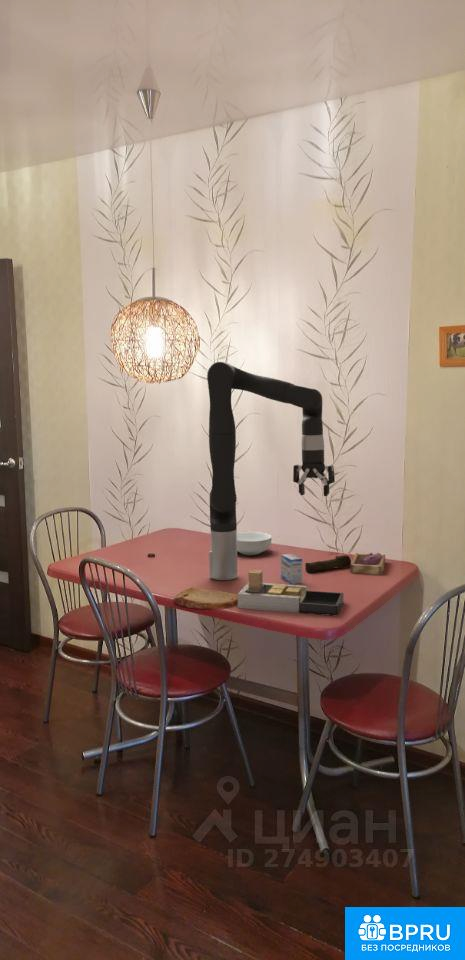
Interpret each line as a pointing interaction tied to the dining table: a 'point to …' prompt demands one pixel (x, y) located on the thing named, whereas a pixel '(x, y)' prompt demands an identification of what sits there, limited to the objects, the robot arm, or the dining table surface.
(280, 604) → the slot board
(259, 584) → the beige and grey block
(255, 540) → the cereal bowl
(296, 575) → the medicine box
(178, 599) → the slice of bread
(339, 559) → the hand tool
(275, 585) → the khaki small block
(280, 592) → the tan wood block
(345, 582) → the dining table surface
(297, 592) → the tan square block
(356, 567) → the light wood shallow tray
